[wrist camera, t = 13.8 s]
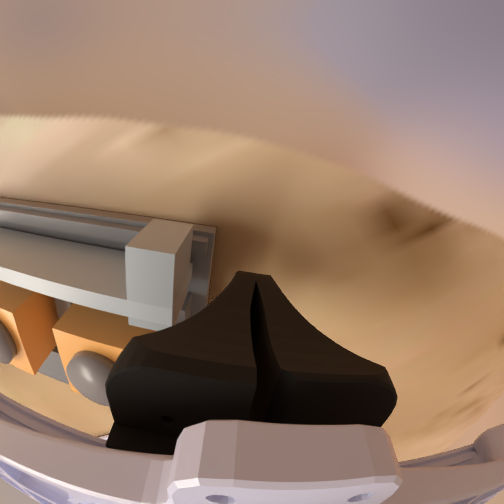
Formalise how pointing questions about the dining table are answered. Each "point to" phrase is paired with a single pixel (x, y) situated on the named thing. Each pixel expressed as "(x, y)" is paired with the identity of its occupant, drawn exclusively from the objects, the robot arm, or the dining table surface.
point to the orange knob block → (26, 327)
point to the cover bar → (107, 271)
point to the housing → (107, 236)
